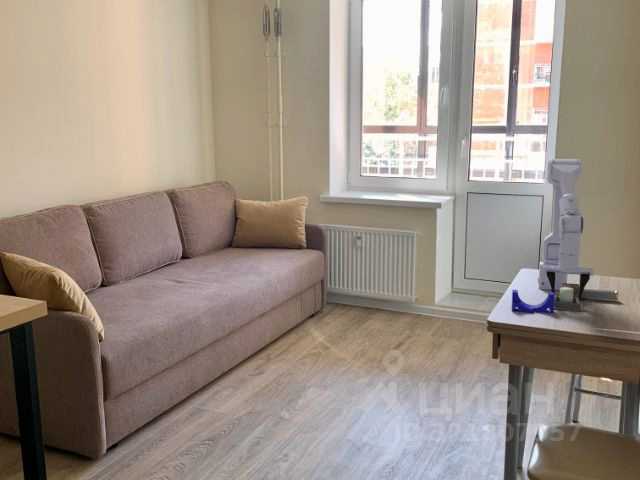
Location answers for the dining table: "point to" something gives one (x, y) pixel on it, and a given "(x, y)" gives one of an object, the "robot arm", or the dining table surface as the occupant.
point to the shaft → (600, 294)
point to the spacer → (566, 295)
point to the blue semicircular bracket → (533, 308)
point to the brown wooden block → (573, 286)
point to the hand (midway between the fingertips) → (566, 296)
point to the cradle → (568, 305)
